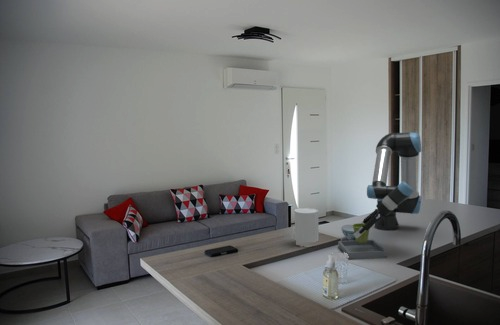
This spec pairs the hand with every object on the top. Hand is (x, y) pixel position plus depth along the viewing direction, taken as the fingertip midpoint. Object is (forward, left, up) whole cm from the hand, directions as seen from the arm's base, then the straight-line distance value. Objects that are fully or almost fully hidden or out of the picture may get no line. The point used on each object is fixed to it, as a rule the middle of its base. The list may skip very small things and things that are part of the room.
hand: (355, 234), depth 208 cm
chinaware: (-20, +6, -10) cm, 24 cm away
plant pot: (+1, +3, -4) cm, 5 cm away
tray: (+1, +3, -10) cm, 11 cm away
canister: (-17, -23, -10) cm, 31 cm away
